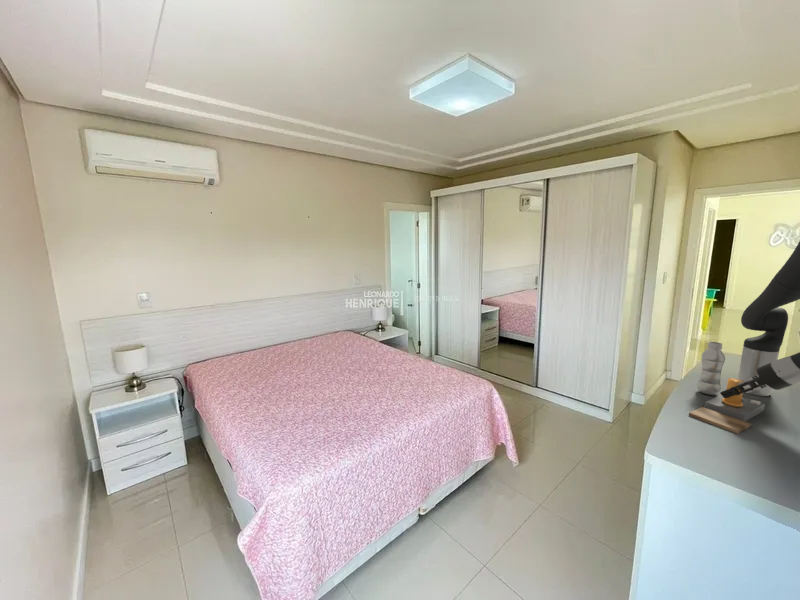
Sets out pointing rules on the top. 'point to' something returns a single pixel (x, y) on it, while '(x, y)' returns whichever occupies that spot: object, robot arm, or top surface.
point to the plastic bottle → (711, 369)
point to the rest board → (720, 420)
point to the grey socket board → (740, 413)
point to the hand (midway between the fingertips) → (725, 394)
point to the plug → (736, 399)
